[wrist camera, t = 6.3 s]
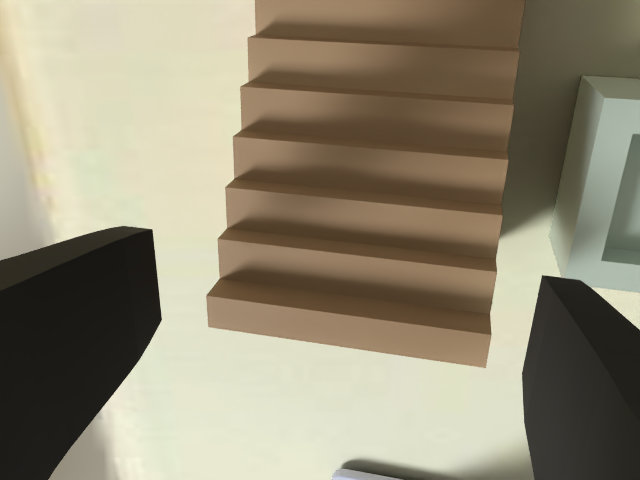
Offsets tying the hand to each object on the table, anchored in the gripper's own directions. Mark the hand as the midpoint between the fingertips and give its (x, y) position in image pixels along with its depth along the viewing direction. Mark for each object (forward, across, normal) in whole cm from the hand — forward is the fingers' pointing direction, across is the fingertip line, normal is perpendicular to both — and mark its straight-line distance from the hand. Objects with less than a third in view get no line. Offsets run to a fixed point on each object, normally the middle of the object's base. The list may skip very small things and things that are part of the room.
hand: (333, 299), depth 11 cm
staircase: (+7, 0, -2) cm, 7 cm away
